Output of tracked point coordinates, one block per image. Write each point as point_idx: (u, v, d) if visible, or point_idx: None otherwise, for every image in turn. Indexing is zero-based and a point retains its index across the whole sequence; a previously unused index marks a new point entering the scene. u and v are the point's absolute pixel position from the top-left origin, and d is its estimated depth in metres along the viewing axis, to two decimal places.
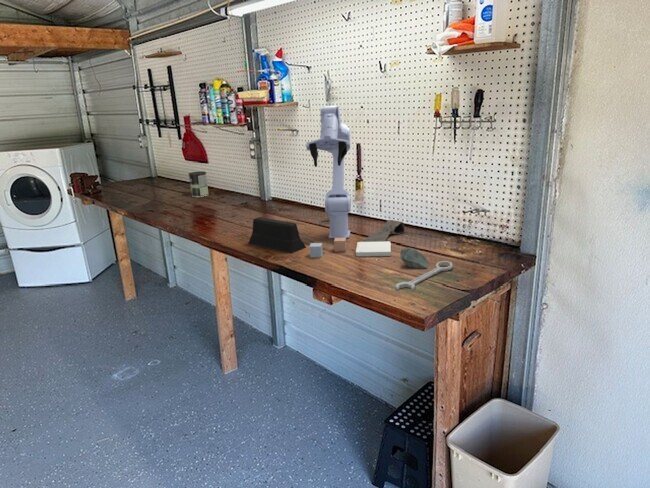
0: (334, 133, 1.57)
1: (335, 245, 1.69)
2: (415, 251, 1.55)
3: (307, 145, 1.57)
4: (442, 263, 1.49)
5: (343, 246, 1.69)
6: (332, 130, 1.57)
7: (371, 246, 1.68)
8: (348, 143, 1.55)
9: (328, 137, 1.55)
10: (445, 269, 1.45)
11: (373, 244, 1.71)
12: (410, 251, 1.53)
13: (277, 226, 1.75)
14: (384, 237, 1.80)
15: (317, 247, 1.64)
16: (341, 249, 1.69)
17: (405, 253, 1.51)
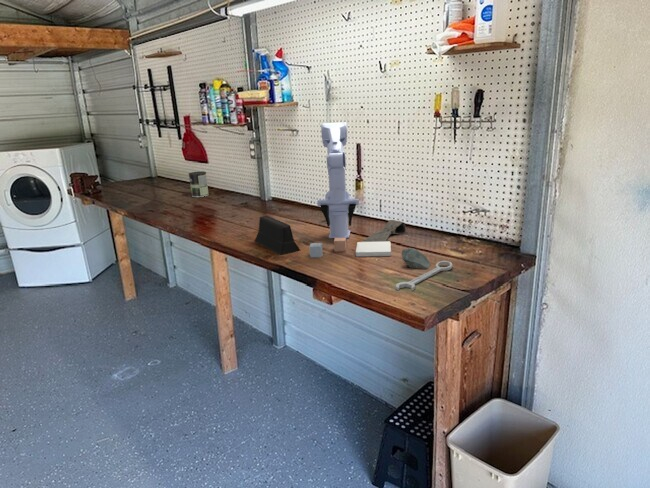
0: (343, 193, 1.63)
1: (335, 245, 1.69)
2: (416, 251, 1.54)
3: (318, 205, 1.67)
4: (442, 263, 1.49)
5: (343, 246, 1.69)
6: (341, 191, 1.63)
7: (371, 246, 1.68)
8: (357, 204, 1.65)
9: (338, 203, 1.63)
10: (445, 269, 1.45)
11: (373, 244, 1.71)
12: (411, 251, 1.53)
13: (274, 227, 1.75)
14: (384, 237, 1.80)
15: (317, 247, 1.64)
16: (341, 249, 1.69)
17: (406, 253, 1.51)
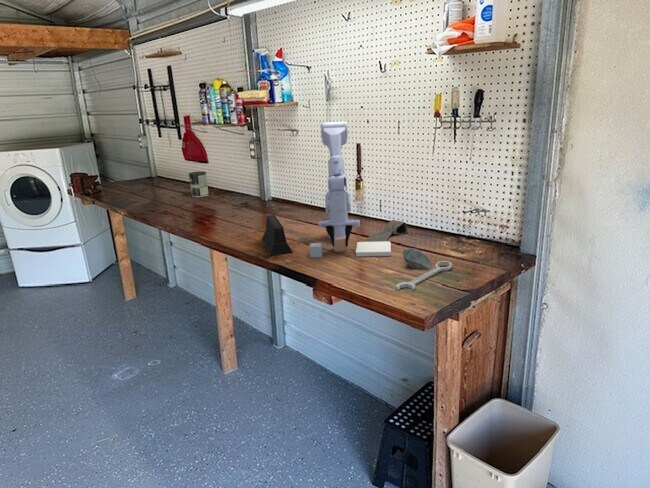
0: (344, 215, 1.66)
1: (335, 245, 1.69)
2: (418, 251, 1.54)
3: (320, 226, 1.69)
4: (441, 263, 1.50)
5: (343, 246, 1.69)
6: (342, 213, 1.65)
7: (371, 246, 1.68)
8: (358, 225, 1.67)
9: (339, 225, 1.65)
10: (445, 269, 1.46)
11: (373, 244, 1.71)
12: (413, 251, 1.53)
13: (271, 227, 1.75)
14: (385, 237, 1.80)
15: (317, 247, 1.64)
16: (341, 249, 1.69)
17: (408, 253, 1.51)
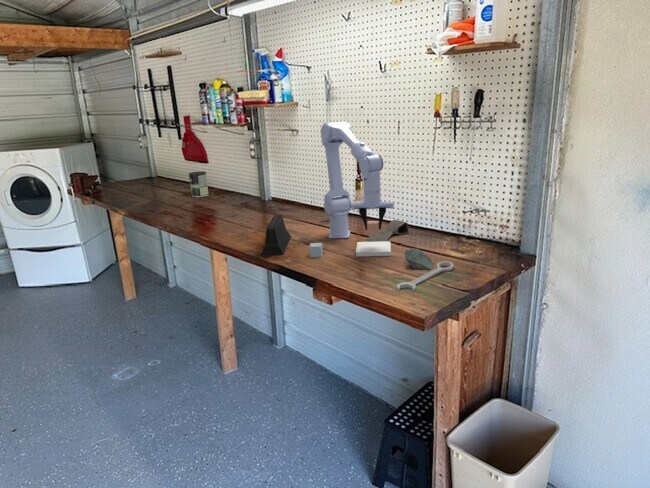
0: (378, 197, 1.60)
1: (368, 228, 1.64)
2: (420, 252, 1.53)
3: (352, 208, 1.63)
4: (443, 263, 1.49)
5: (376, 229, 1.63)
6: (376, 195, 1.60)
7: (371, 246, 1.68)
8: (392, 207, 1.62)
9: None
10: (446, 269, 1.45)
11: (373, 244, 1.71)
12: (415, 252, 1.52)
13: None
14: (386, 237, 1.80)
15: (317, 247, 1.64)
16: (375, 233, 1.64)
17: (409, 254, 1.50)
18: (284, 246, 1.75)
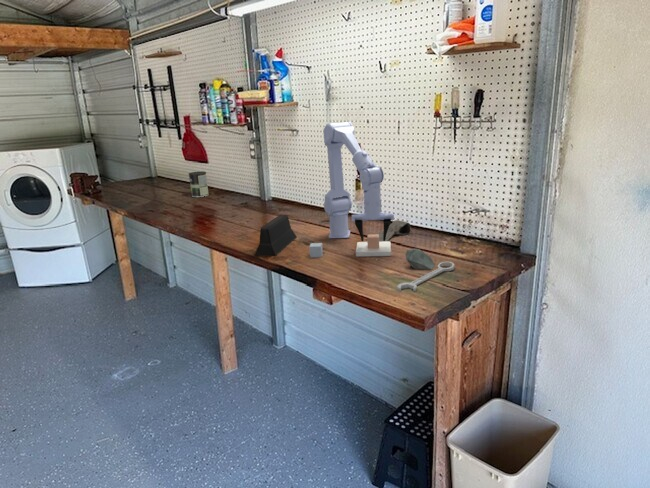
0: (378, 208, 1.62)
1: (368, 242, 1.65)
2: (421, 252, 1.53)
3: (353, 220, 1.65)
4: (444, 264, 1.49)
5: (377, 243, 1.65)
6: (376, 206, 1.61)
7: None
8: (392, 219, 1.63)
9: (373, 219, 1.61)
10: (447, 270, 1.45)
11: None
12: (416, 252, 1.52)
13: None
14: (387, 237, 1.79)
15: (317, 247, 1.64)
16: (375, 246, 1.65)
17: (410, 254, 1.50)
18: (281, 247, 1.75)
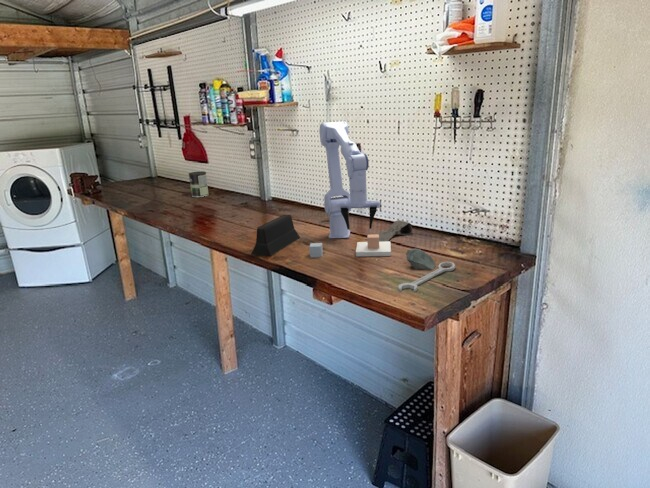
0: (364, 196, 1.60)
1: (368, 242, 1.65)
2: (422, 252, 1.53)
3: (338, 208, 1.63)
4: (444, 264, 1.49)
5: (377, 243, 1.65)
6: (362, 194, 1.59)
7: None
8: (378, 206, 1.61)
9: (359, 206, 1.60)
10: (447, 270, 1.45)
11: None
12: (417, 252, 1.52)
13: None
14: (387, 237, 1.79)
15: (317, 247, 1.64)
16: (375, 246, 1.65)
17: (411, 254, 1.50)
18: (278, 247, 1.75)
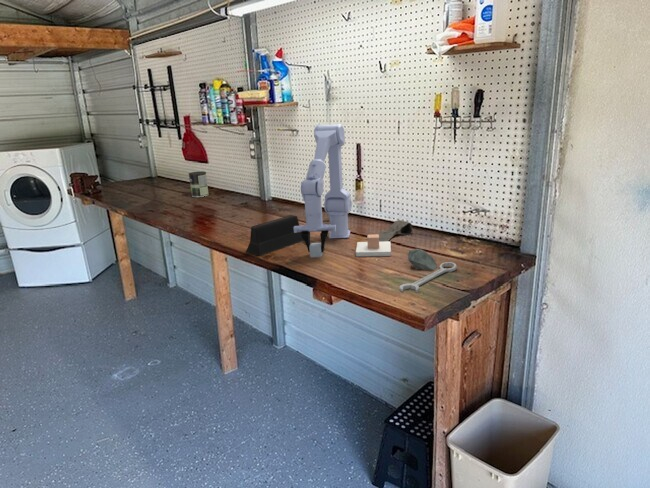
0: (319, 220, 1.61)
1: (368, 242, 1.65)
2: (424, 252, 1.53)
3: (295, 231, 1.64)
4: (446, 264, 1.48)
5: (377, 243, 1.65)
6: (317, 218, 1.60)
7: None
8: (334, 230, 1.62)
9: (314, 230, 1.61)
10: (449, 270, 1.44)
11: None
12: (418, 252, 1.52)
13: None
14: (388, 237, 1.80)
15: (317, 247, 1.64)
16: (375, 246, 1.65)
17: (413, 254, 1.50)
18: (273, 248, 1.75)
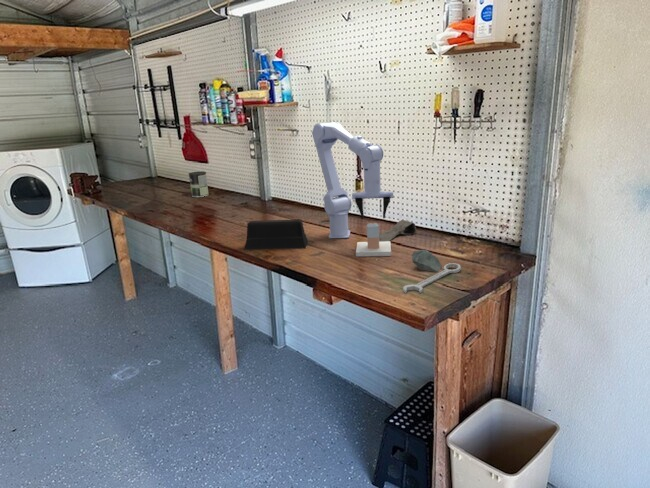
0: (378, 186, 1.65)
1: (368, 242, 1.65)
2: (429, 253, 1.52)
3: (353, 198, 1.68)
4: (450, 265, 1.47)
5: (377, 243, 1.65)
6: (376, 184, 1.65)
7: None
8: (392, 197, 1.67)
9: (373, 196, 1.65)
10: (453, 271, 1.43)
11: None
12: (423, 253, 1.51)
13: None
14: (390, 237, 1.80)
15: (375, 227, 1.63)
16: (375, 246, 1.65)
17: (417, 255, 1.49)
18: (261, 246, 1.77)
